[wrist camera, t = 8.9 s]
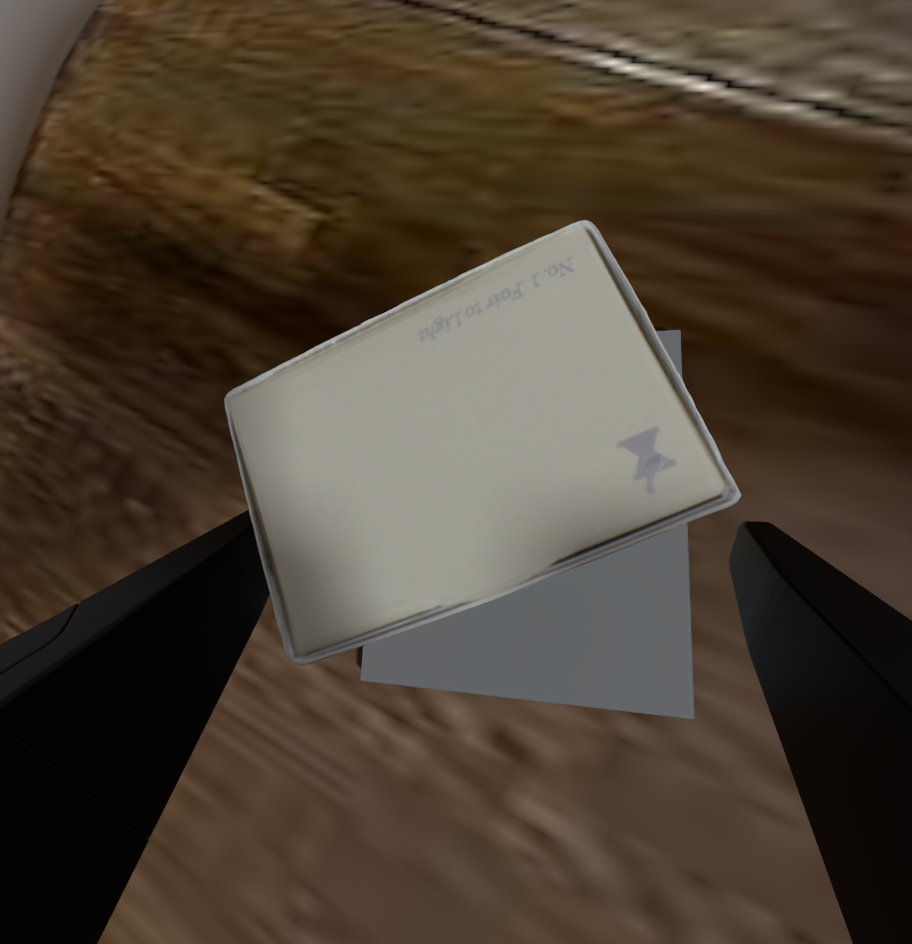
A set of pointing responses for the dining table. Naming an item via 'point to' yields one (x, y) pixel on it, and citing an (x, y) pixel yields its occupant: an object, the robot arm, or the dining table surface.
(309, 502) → the skincare box
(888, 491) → the dining table surface
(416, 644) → the slate mat
